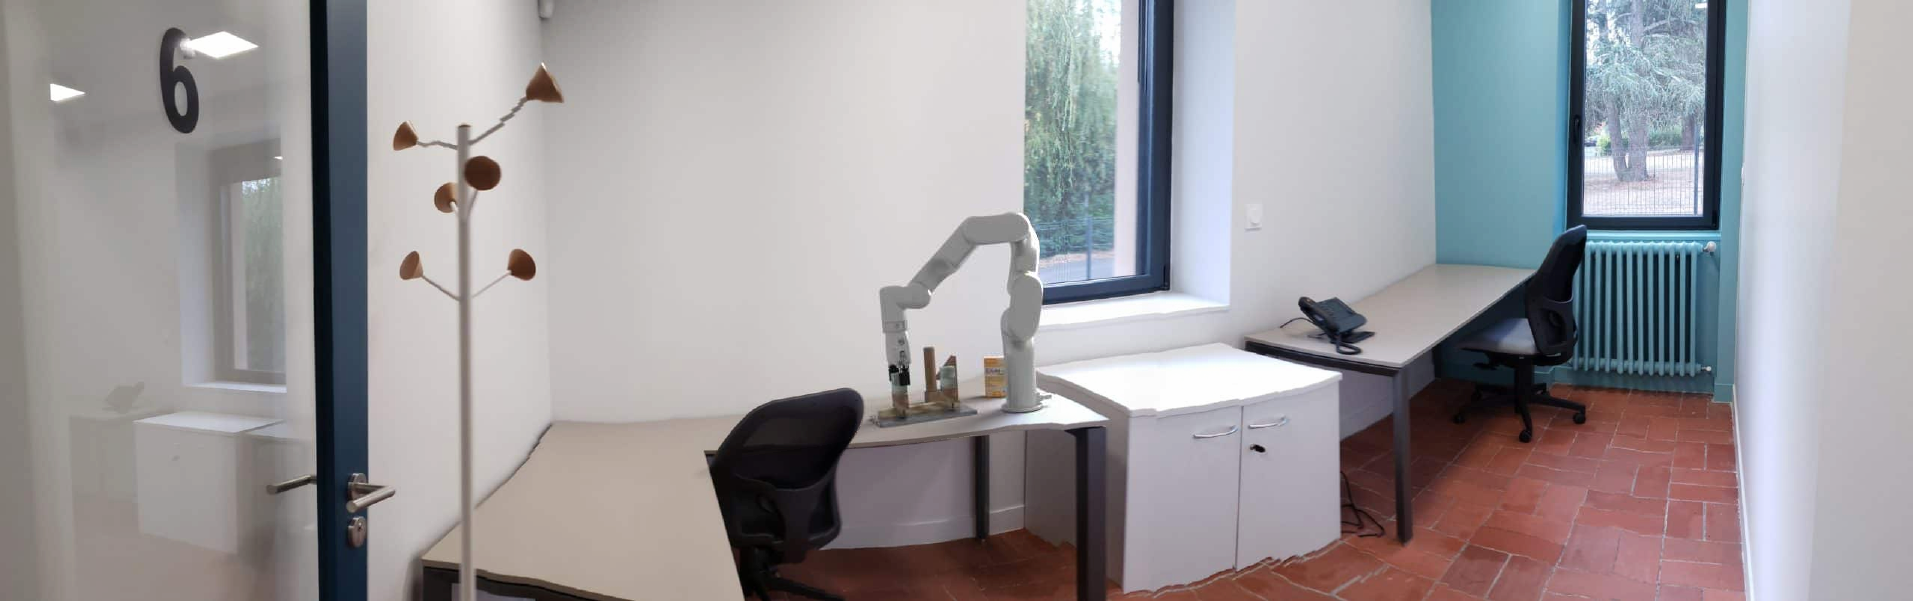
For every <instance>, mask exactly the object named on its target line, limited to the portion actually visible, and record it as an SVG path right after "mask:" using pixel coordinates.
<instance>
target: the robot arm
mask: <svg viewBox="0 0 1913 601" xmlns="http://www.w3.org/2000/svg"><path fill="white" fill-rule="evenodd" d="M946 239H947V240H945V242H943V244H942V245H941V246H940V247H939V249H938V250H937V251H936V252H935V253H934V254H933V255H932V256H931V257H930V259H929V260H928V261H927V262H926V263H925V264H924V265H923V266H922V267H921V269H920V270H919V271H918V272H917V273H916V274H915V275H914V276H913V277H912V279H910V280H909V282H908V283H907V285H906V286H901V285H887V286H882V287H881V288H880V289H879V291H878V292H879V304H880V305H879V306H880V315H881V316H880V317H881V327H882V328H881V329H882V334H884V339H885V341H884V342H885V344H884V345H885V354H886V356H885V358H886V361H887V367H888V380H889V382H891V374H892V373H899V383H900V386H907V387H908V386H911V377H910V376H911V374H910V373H911V372H910V364H911V363H912V356H911V348H910V342H909V341H910V340H909V336H908V330H909V329H908V318H907V310H920V309H921V310H922V309H924V308H926V307H928V306H929V304H930V303H931V301H932V293H933V292H934V291H935V290H936V289H937V287H938V286H940V284H941V283H943V282H944V281H945V280H946V279H947V278H948V277H950V276H952V275H953V274H955V273H957V271H959V270H960V269H961V268H962V266H963V265H964V264H965V263H966V262H967V261H968V259H970V257H971V256H972V255H973V254H974V253H975V251H976V250H978V248H979V247H980V246H988V245H996V244H997V245H999V244H1007V243H1009V246H1010V263H1009V272H1008V278H1007V283H1006V291H1007V293H1008V295H1009V297H1010V299H1009V300H1010V301H1009V307H1007V308H1006V309H1005V310H1004V311H1003V312H1002V314H1001V317H1000V321H999V322H1000V323H999V324H1000V334H1001V341H1002V354H1003V355H1002V356H1004V374H1005V391H1006V397H1005V402H1004V403H1002V404H1001V405H1000V406H1001V410H1002V411H1004V412H1006V413H1007V412H1008V413H1028V412H1034V411H1039V410H1041V409H1042V408H1043V403H1042V401H1044V400H1045V401H1046V400H1051V399H1052V397H1053V396H1052V393H1051V392H1047V393H1046V392H1045V393H1044V392H1038V390H1037V379H1036V378H1037V374H1036V359H1035V358H1036V354H1035V353H1036V352H1035V344H1034V343H1035V342H1034V336H1035V335H1036V333H1037V332H1038V329H1039V326H1040V320H1041V314H1042V306H1043V300H1044V299H1043V298H1044V287H1043V283H1042V281H1041V279H1040V277H1038V274H1039V273H1038V271H1039V260H1040V242H1039V239H1038V236H1037V233H1036V232H1035V230H1034V228H1033V227H1032V225H1031V222H1030V220H1029V218H1028V217H1027V216H1026V215H1024V213H1022V212H1016V211H1007V212H1004V213H1003V214H995V215H984V216H983V215H981V216H978V215H970V216H968V217H966V218H965V219H964V220H963V221H962V222H961V223H960V224H959V225H958V227H957V228H955V230H954V231H953V232H952V234H951V235H950V236H949V237H948V238H946Z"/></svg>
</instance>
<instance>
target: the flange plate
mask: <svg viewBox="0 0 1913 601" xmlns="http://www.w3.org/2000/svg"><path fill="white" fill-rule="evenodd" d="M970 414H971V415H977V414H978V409H975V408H974V407H971V406H968V405H967V404H964V403H963V402H960V406H959V407H954V409H952V408H945V409H938V410H931V411H924V412H918V413H911V414H905V415H906V416H903V415H897V416H890V417H884V418H880V417H878V414H872V415H868V418H869V417H870V418H871V419H872V420H874V421H876V422H877V423H879V424H880V425H881V426H891V427H898V426H903V425H904V424H905V425H910V424H917V423H918V424H919V423H923V422H929V421H930V422H931V421H937V420H943V419H949V418H950V419H951V418H957V417H964V416H970ZM872 420H871V421H872ZM877 423H876V424H877ZM880 425H879V426H880ZM881 426H880V427H881Z"/></svg>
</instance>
